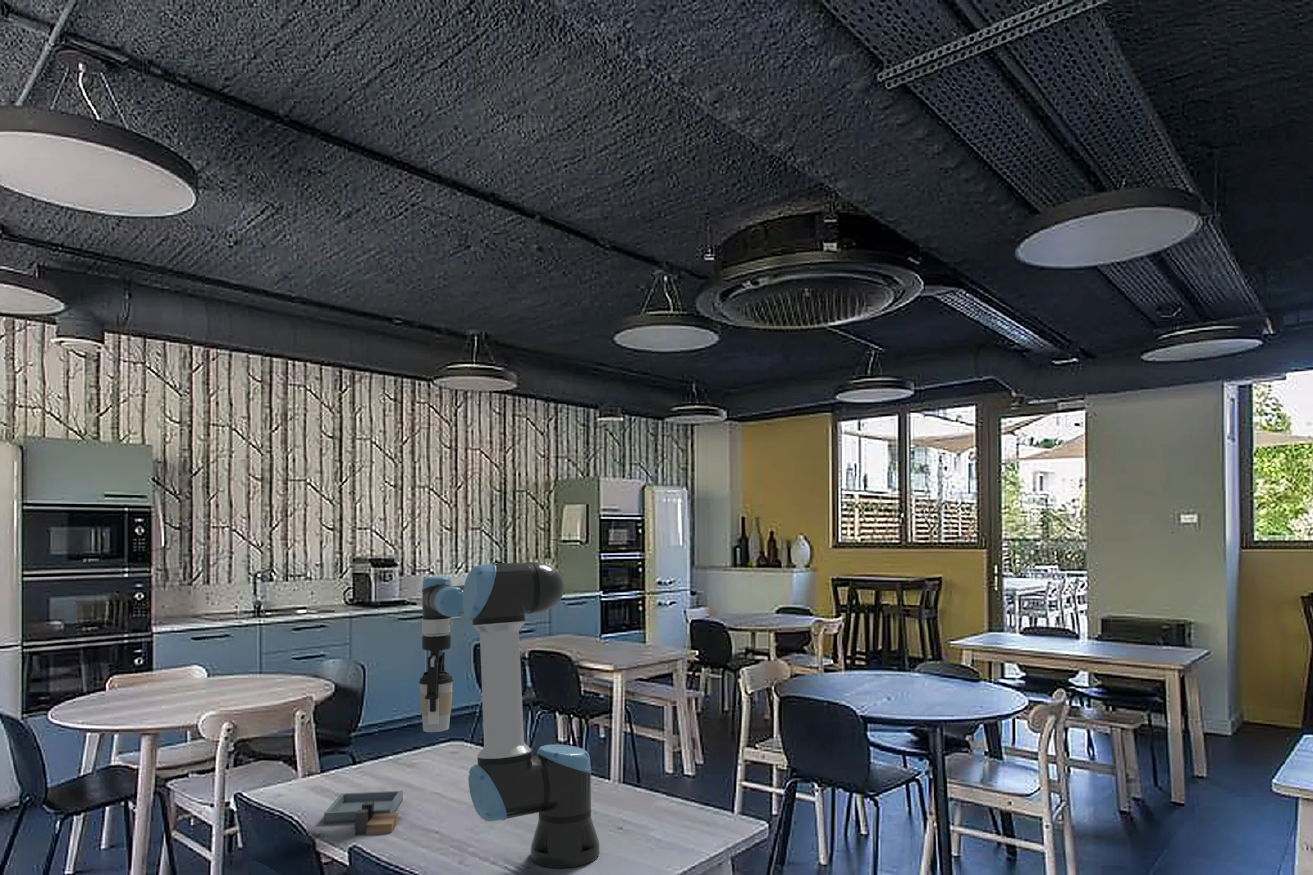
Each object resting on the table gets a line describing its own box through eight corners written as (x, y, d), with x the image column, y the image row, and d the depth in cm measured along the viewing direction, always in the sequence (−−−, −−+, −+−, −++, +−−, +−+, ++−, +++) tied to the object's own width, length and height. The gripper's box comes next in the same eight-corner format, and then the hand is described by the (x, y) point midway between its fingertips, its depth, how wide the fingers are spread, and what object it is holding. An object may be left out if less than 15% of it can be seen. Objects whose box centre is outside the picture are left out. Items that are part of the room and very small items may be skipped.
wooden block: (391, 834, 211) (391, 823, 211) (366, 835, 210) (366, 825, 210) (398, 823, 219) (398, 812, 219) (373, 824, 218) (373, 813, 218)
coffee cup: (457, 725, 240) (458, 669, 241) (446, 733, 231) (446, 675, 232) (425, 725, 241) (426, 669, 242) (413, 733, 232) (413, 675, 233)
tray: (390, 820, 220) (390, 810, 220) (324, 823, 218) (324, 813, 218) (402, 800, 235) (402, 790, 236) (341, 803, 234) (341, 793, 234)
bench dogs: (365, 834, 210) (365, 812, 210) (355, 834, 210) (355, 813, 210) (373, 822, 218) (373, 801, 219) (363, 822, 218) (364, 802, 219)
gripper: (444, 639, 228) (444, 728, 226) (456, 629, 249) (455, 711, 247) (415, 640, 227) (414, 729, 225) (429, 630, 248) (428, 712, 246)
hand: (436, 719), depth 236 cm, fingers closed on coffee cup, 9 cm apart
